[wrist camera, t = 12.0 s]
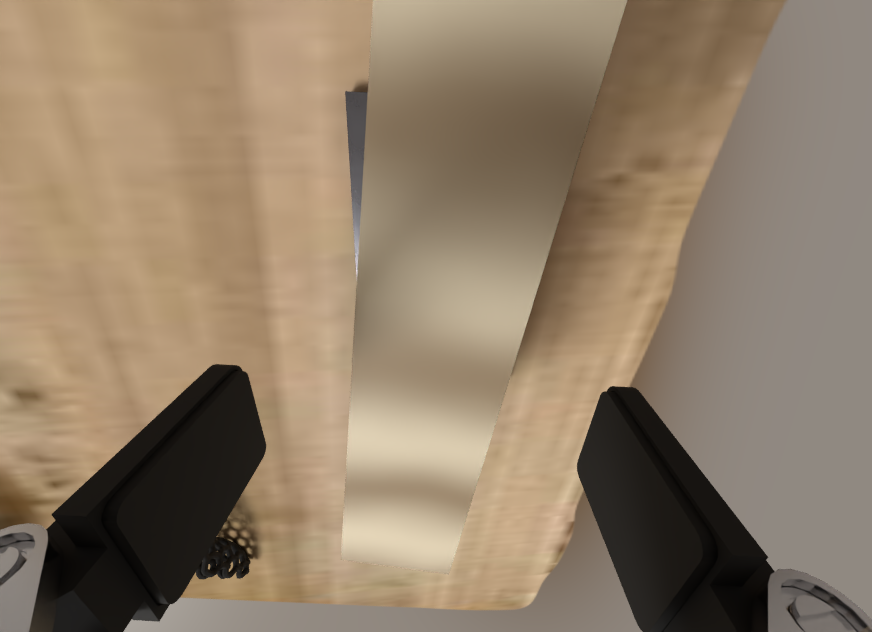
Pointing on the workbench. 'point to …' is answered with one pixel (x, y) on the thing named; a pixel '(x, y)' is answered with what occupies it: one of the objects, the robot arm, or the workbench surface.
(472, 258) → the maple bar
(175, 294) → the workbench surface
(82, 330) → the workbench surface
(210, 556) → the decorative element
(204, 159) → the workbench surface
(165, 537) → the robot arm
